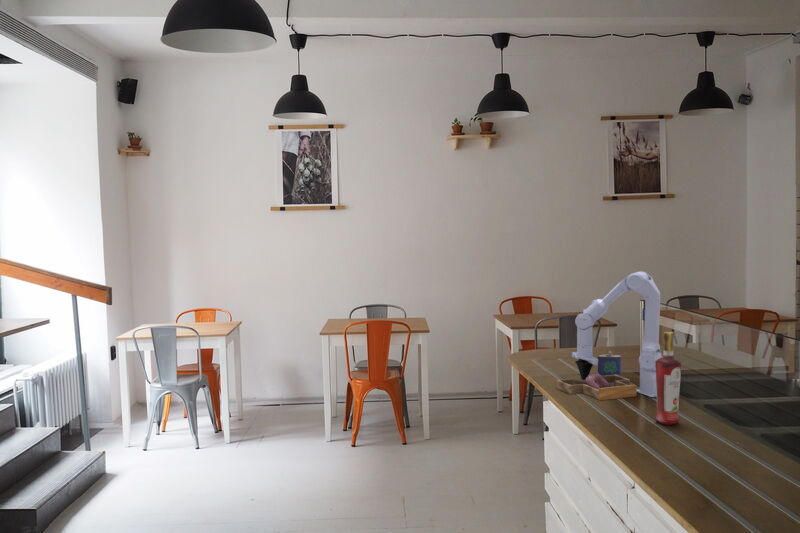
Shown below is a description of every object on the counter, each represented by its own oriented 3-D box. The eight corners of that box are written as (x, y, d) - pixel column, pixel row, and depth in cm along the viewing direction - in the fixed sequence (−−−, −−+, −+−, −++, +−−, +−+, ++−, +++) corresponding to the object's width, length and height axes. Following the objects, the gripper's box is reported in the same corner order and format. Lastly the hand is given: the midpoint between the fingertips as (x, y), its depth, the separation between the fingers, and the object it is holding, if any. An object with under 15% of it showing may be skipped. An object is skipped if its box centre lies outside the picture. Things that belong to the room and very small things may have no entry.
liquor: (667, 417, 198) (668, 330, 197) (685, 424, 192) (687, 333, 190) (649, 420, 196) (650, 331, 194) (667, 427, 189) (668, 335, 187)
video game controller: (599, 390, 239) (592, 372, 240) (610, 386, 236) (602, 368, 237) (589, 395, 231) (581, 377, 233) (600, 391, 228) (592, 373, 230)
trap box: (649, 394, 225) (649, 383, 225) (586, 401, 217) (586, 390, 217) (615, 382, 244) (615, 371, 243) (556, 388, 236) (556, 377, 236)
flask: (620, 377, 252) (620, 350, 251) (622, 378, 249) (622, 352, 248) (596, 377, 252) (597, 350, 251) (598, 379, 249) (598, 352, 248)
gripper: (565, 341, 246) (565, 376, 247) (586, 348, 232) (586, 384, 233) (580, 340, 248) (580, 374, 249) (603, 347, 234) (602, 383, 235)
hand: (584, 379), depth 241 cm, fingers closed
